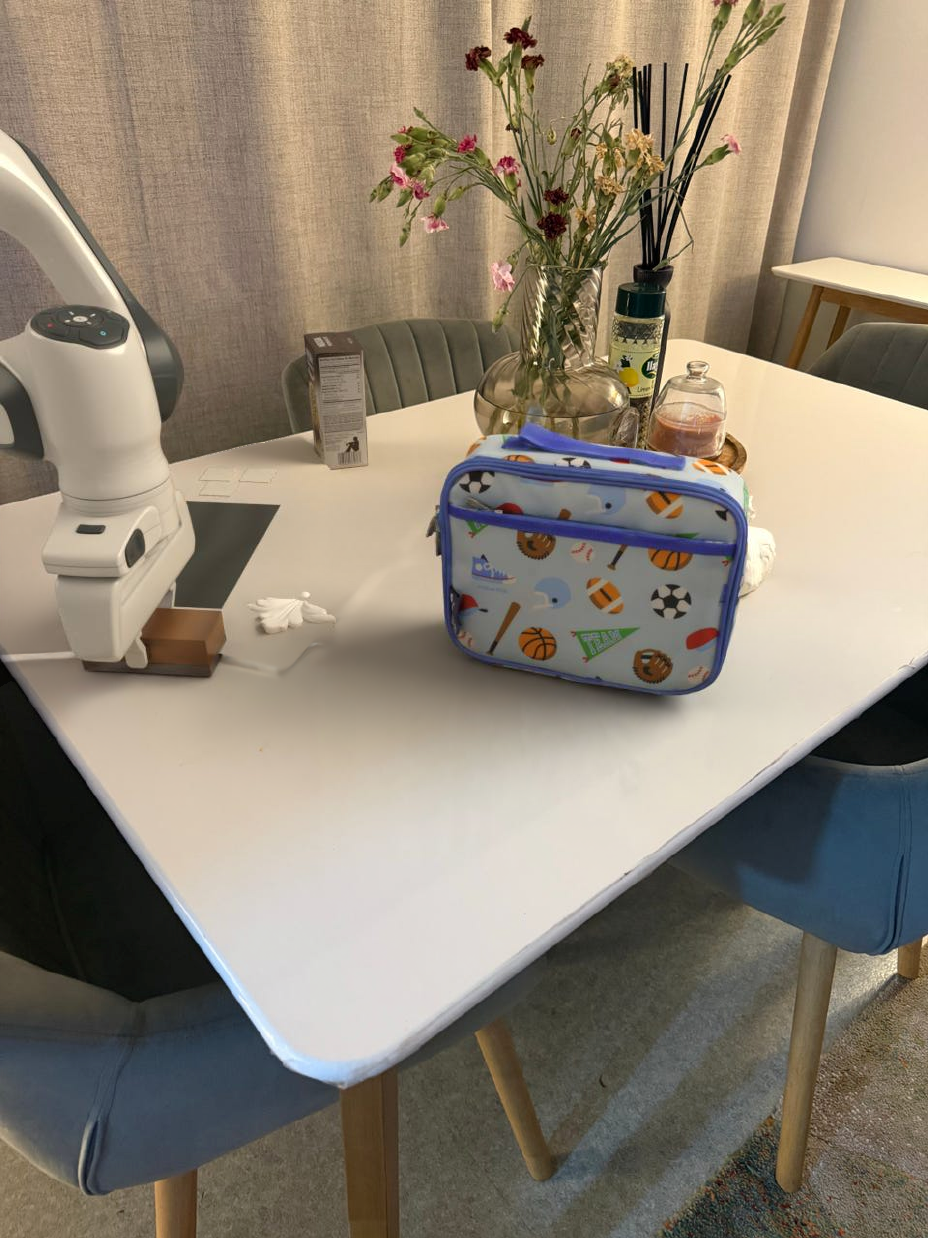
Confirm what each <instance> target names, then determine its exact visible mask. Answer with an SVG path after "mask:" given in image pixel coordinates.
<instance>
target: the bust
mask: <svg viewBox="0 0 928 1238" xmlns="http://www.w3.org/2000/svg"><path fill="white" fill-rule="evenodd" d="M753 498H754V496H753V495H749V508H748V515H747V516H748V521H747V523H748V552H747V565H746V571H745V577H744V581H743V586H742V591H741V596H745V595H748V594H749V593H751V592H752V591H756V590H757V589H758V587H759V585H760V584H761V581H763V580H764V579H765V578H766V577H768V575H769V574H770V572H771V570H772V568H773V566H774V564H775V563H776V557H777V554H776V550H775V549H776V543H775V541H774V535H773V534H772V533H771V532H770V531H768V530H767V528H762V527H756V526H750V523H751V522H752V521H753V520H754V519H755V518H756V511H755V509H754V508H753V503H752V500H753Z"/></svg>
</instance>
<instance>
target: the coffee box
mask: <svg viewBox="0 0 928 1238" xmlns="http://www.w3.org/2000/svg"><path fill="white" fill-rule="evenodd" d="M303 341H304V342H303V343H304V351H305V362H306V363H305V364H306V372H307V382H308V391H309V402H310V413H311V424H312V434H313V444H314V448H315V451H316V453H317V455H318V457H319V458H320V459H321V461H322V463H323V465H324V466H325V465H326V467H328V469H330V470H337V469H346V468H348V469H349V468H355V467H356V468H357V467H364V466H365V467H366V466H368V465H369V452H368V451H369V449H368V448H369V447H368V431H367V429H368V428H367V409H366V407H367V406H366V385H365V369H364V368H365V367H364V352H363V348H361V345H360V344H359V343H358V341H356V339H355V338H354V336H353V335H352V334H351V333H350V331H338V332H337V331H336V332H334V331H325V332H310V333H304V334H303Z"/></svg>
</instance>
